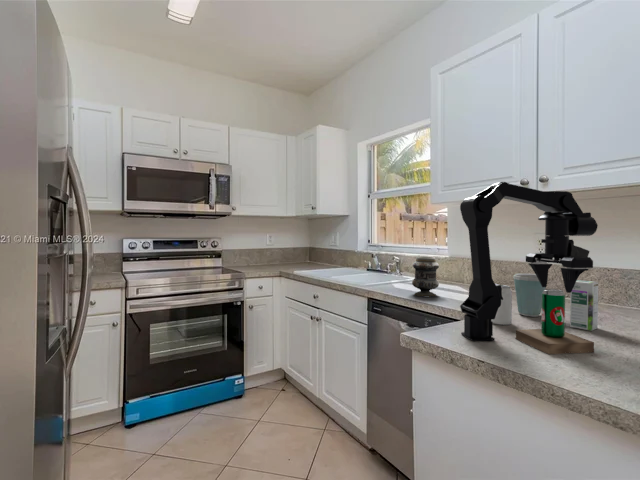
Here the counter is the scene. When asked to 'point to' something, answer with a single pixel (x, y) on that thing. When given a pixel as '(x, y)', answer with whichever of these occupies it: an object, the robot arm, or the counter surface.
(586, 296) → the syrup box
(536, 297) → the disposable coffee cup
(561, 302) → the soda can
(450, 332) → the counter surface
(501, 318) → the can
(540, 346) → the walnut base
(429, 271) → the apothecary jar
